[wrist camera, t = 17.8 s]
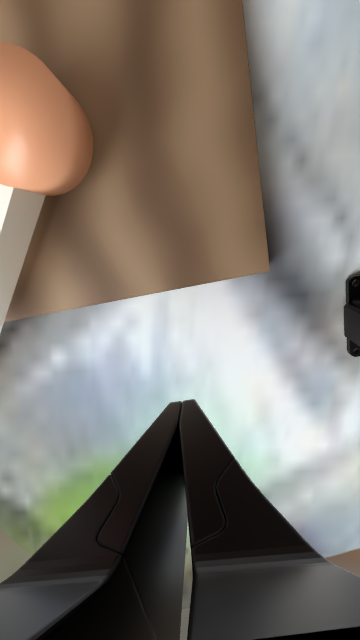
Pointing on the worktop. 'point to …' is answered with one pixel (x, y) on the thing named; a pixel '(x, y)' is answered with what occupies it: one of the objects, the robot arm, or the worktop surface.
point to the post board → (145, 151)
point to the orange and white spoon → (34, 154)
